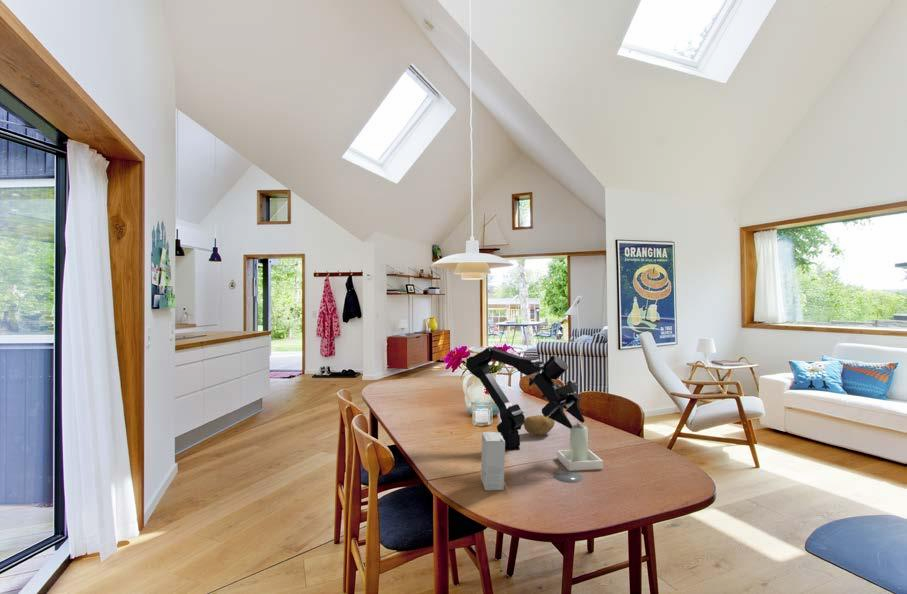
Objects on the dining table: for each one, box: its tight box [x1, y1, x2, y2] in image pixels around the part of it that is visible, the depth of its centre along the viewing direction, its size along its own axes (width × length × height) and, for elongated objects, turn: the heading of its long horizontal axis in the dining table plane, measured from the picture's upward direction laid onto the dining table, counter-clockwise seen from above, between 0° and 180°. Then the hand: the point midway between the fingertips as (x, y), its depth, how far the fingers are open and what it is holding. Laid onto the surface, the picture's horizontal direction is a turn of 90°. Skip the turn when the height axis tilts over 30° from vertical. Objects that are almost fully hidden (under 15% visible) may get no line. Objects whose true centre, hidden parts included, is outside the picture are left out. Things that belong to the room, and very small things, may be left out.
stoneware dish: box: [556, 449, 604, 472], centre depth 149 cm, size 11×11×3 cm
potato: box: [523, 414, 555, 437], centre depth 183 cm, size 10×14×8 cm
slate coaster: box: [552, 470, 584, 484], centre depth 138 cm, size 9×9×1 cm
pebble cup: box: [569, 422, 589, 462], centre depth 149 cm, size 6×6×14 cm
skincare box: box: [480, 431, 506, 491], centre depth 133 cm, size 8×6×15 cm
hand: (577, 424), depth 150 cm, fingers open, 9 cm apart
